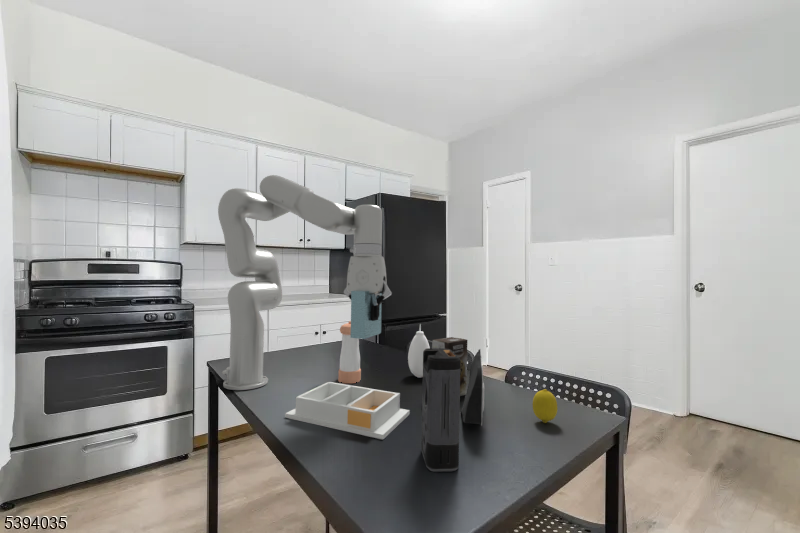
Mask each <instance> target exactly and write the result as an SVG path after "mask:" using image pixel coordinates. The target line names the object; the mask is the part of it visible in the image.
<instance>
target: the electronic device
mask: <svg viewBox="0 0 800 533" xmlns="http://www.w3.org/2000/svg"><path fill="white" fill-rule="evenodd" d="M421 384H422V387H421V388H422V390H421V393H422V394H421V397H422V399H421V400H422V402H421V404H422V405H421V443H420V444H421V447H420V448H421V449H420V450H421V453H422V457H423V461H424V464H425V467H426V468H427V469H428V471H431V472H434V473H443V472H444V473H445V472H447V473H449V472H455V471H457V470H458V469H459V466H460V465H459V462H460V461H459V460H460V457H459V455H460V414H461V410H460V408H461V407H460V406H461V405H460V404H461V402H460V400H461V398H460V397H461V396H460V358H459V357H458V356H457V355H456V354H455V353H454V352H453V351H452V350H450V349H446V348H432V347H430V348H428V349H425V350H424V351H423V377H422V383H421Z"/></svg>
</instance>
